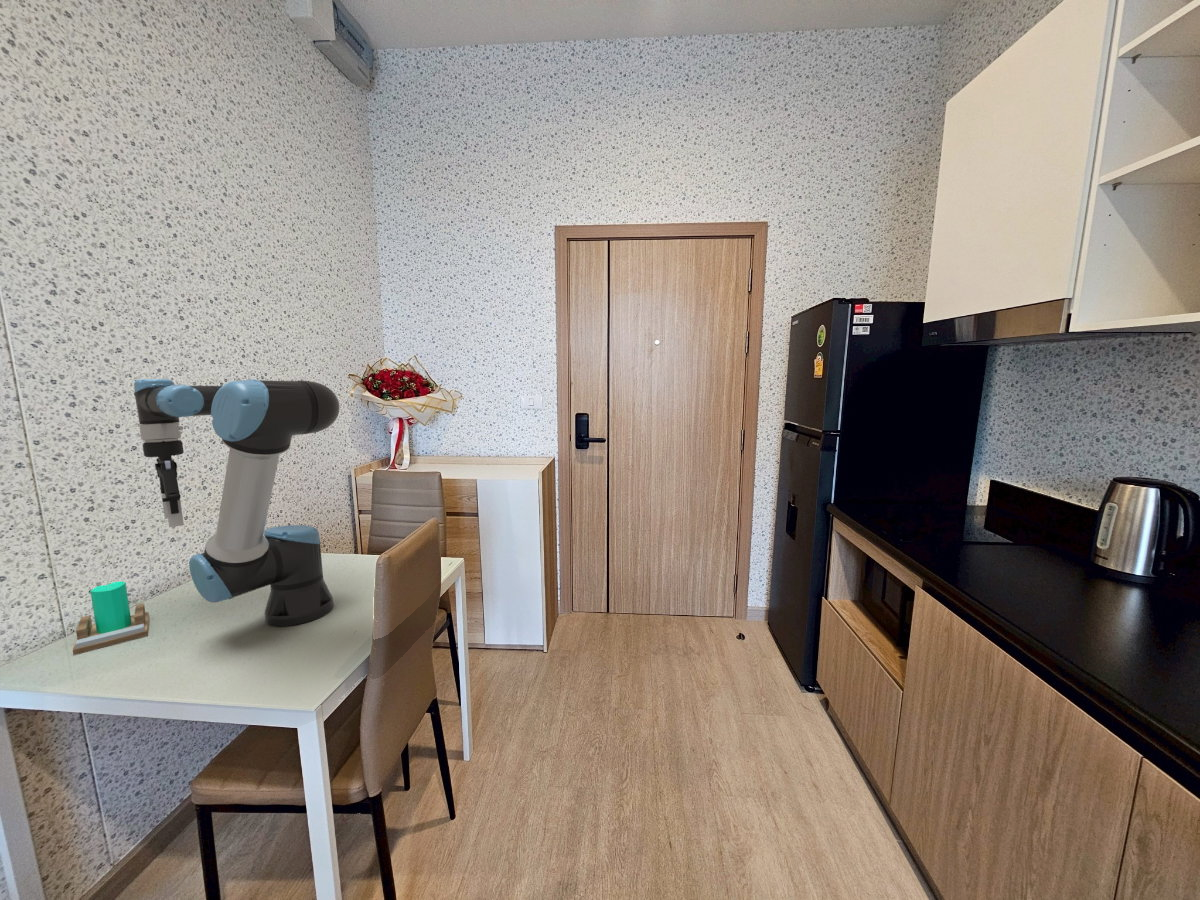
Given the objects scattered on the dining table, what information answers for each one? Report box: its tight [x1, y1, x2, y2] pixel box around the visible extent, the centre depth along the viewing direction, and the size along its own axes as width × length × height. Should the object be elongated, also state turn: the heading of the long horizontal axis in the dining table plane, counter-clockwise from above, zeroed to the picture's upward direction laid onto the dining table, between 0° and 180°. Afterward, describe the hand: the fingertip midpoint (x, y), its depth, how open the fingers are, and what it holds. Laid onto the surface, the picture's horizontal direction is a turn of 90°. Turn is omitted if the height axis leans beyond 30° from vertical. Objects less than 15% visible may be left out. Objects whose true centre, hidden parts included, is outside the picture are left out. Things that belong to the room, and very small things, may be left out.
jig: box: [72, 602, 150, 656], centre depth 114 cm, size 14×12×4 cm
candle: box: [90, 580, 132, 634], centre depth 115 cm, size 6×6×12 cm
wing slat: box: [75, 624, 144, 648], centre depth 111 cm, size 2×11×1 cm, turn 132°
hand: (174, 521), depth 123 cm, fingers open, 13 cm apart
